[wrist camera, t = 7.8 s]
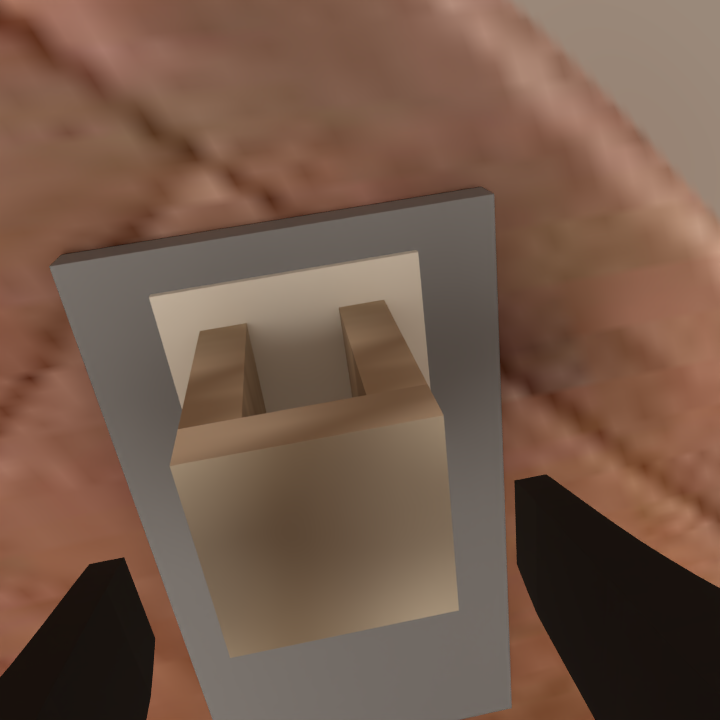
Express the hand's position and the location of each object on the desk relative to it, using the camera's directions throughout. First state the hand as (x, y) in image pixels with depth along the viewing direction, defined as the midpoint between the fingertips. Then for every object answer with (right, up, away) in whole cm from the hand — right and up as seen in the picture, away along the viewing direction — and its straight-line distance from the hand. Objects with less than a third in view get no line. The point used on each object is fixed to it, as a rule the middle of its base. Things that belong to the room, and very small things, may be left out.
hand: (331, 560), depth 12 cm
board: (0, -2, +9) cm, 9 cm away
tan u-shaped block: (-1, +3, +6) cm, 6 cm away
